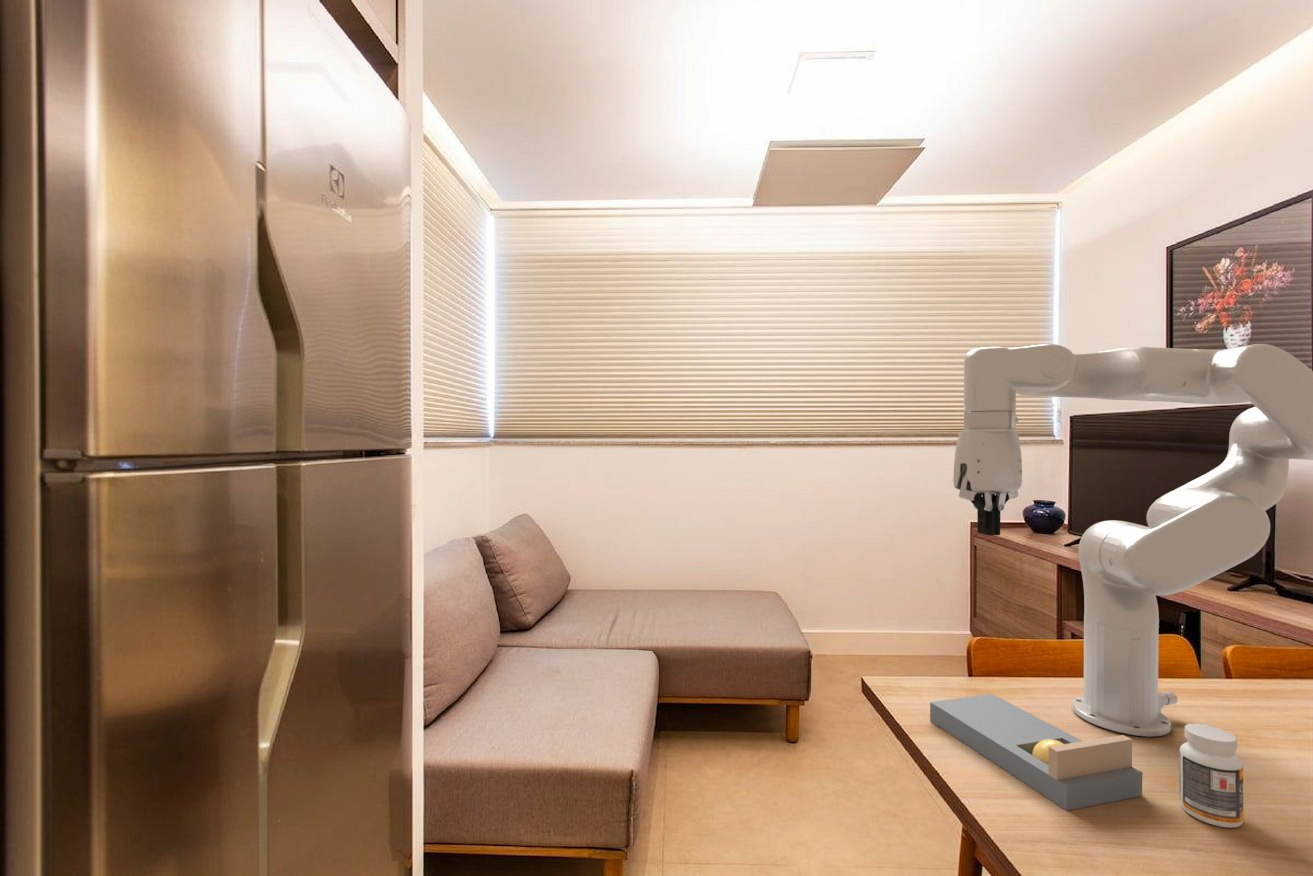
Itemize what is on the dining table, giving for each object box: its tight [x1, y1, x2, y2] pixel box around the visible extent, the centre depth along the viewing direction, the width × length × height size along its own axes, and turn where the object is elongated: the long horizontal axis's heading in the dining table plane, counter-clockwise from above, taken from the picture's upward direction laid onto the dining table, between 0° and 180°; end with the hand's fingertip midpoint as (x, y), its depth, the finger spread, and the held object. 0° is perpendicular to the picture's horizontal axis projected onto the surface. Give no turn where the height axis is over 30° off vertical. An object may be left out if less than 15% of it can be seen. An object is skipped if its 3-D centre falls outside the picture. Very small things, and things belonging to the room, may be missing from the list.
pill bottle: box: [1179, 723, 1244, 829], centre depth 73 cm, size 6×6×10 cm
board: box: [929, 693, 1143, 811], centre depth 87 cm, size 12×24×6 cm, turn 15°
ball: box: [1032, 739, 1063, 765], centre depth 81 cm, size 5×5×5 cm
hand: (988, 534), depth 101 cm, fingers closed
